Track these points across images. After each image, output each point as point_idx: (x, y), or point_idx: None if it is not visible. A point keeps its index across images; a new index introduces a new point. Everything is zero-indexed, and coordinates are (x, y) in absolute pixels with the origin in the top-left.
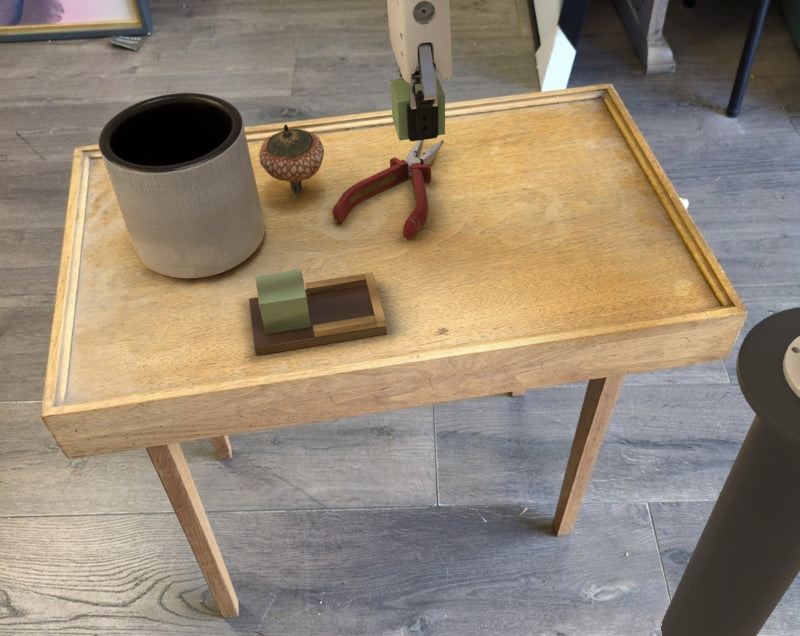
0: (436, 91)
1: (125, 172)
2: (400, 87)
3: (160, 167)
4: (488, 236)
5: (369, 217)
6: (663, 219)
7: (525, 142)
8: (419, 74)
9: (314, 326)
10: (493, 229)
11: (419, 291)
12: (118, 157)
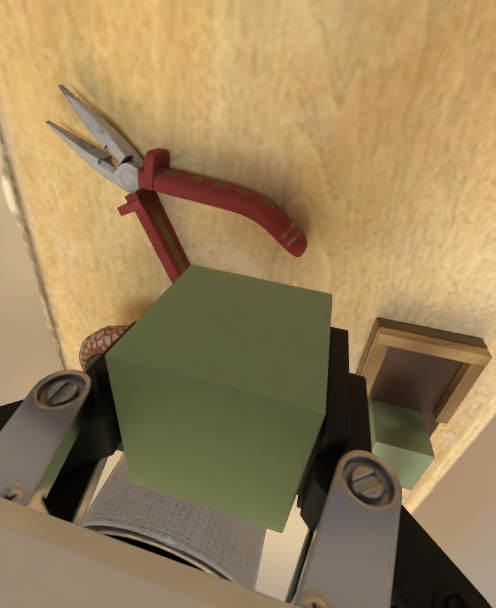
0: (392, 558)
1: None
2: (185, 487)
3: None
4: (356, 91)
5: (229, 271)
6: None
7: None
8: (105, 414)
9: (439, 421)
10: (340, 70)
11: (426, 268)
12: None
